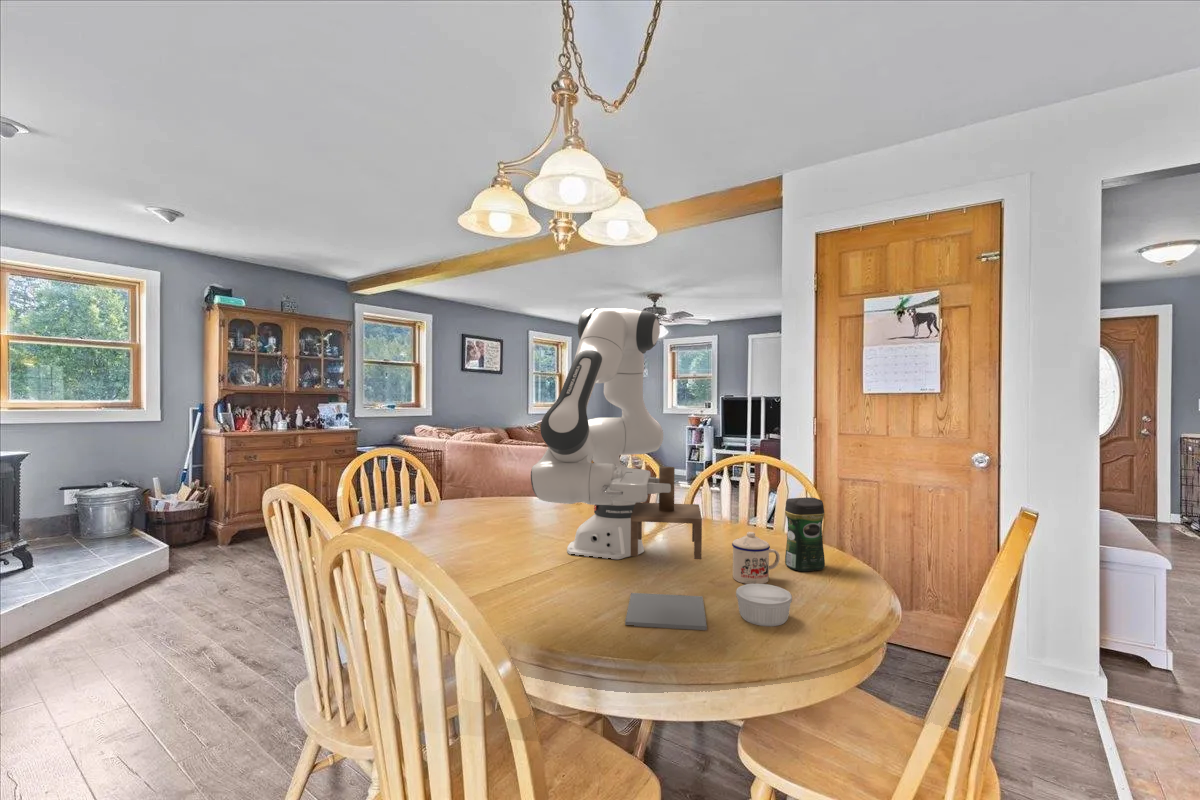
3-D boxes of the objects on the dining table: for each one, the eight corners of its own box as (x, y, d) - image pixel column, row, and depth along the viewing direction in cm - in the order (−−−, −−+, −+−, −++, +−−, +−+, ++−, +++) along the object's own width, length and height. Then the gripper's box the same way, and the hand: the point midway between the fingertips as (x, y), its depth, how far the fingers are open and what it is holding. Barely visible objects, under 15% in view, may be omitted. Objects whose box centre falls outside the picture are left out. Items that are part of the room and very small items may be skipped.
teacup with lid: (739, 586, 134) (740, 537, 133) (726, 573, 143) (726, 528, 142) (787, 584, 135) (787, 536, 135) (771, 572, 144) (771, 527, 144)
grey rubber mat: (625, 625, 111) (625, 621, 111) (631, 596, 127) (631, 592, 127) (706, 630, 109) (706, 626, 109) (702, 599, 125) (702, 596, 125)
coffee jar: (812, 562, 153) (813, 494, 152) (829, 571, 145) (830, 500, 144) (779, 563, 151) (780, 495, 151) (795, 573, 143) (795, 501, 143)
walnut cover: (630, 556, 112) (631, 471, 111) (635, 537, 125) (635, 462, 125) (701, 559, 110) (702, 473, 109) (698, 540, 124) (699, 463, 123)
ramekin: (759, 633, 108) (759, 606, 108) (724, 612, 118) (724, 587, 118) (804, 623, 112) (804, 597, 112) (766, 604, 123) (766, 580, 123)
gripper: (599, 476, 109) (670, 478, 107) (611, 463, 129) (671, 464, 127) (599, 509, 109) (670, 511, 107) (610, 490, 129) (671, 492, 127)
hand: (670, 485), depth 117 cm, fingers closed on walnut cover, 3 cm apart
